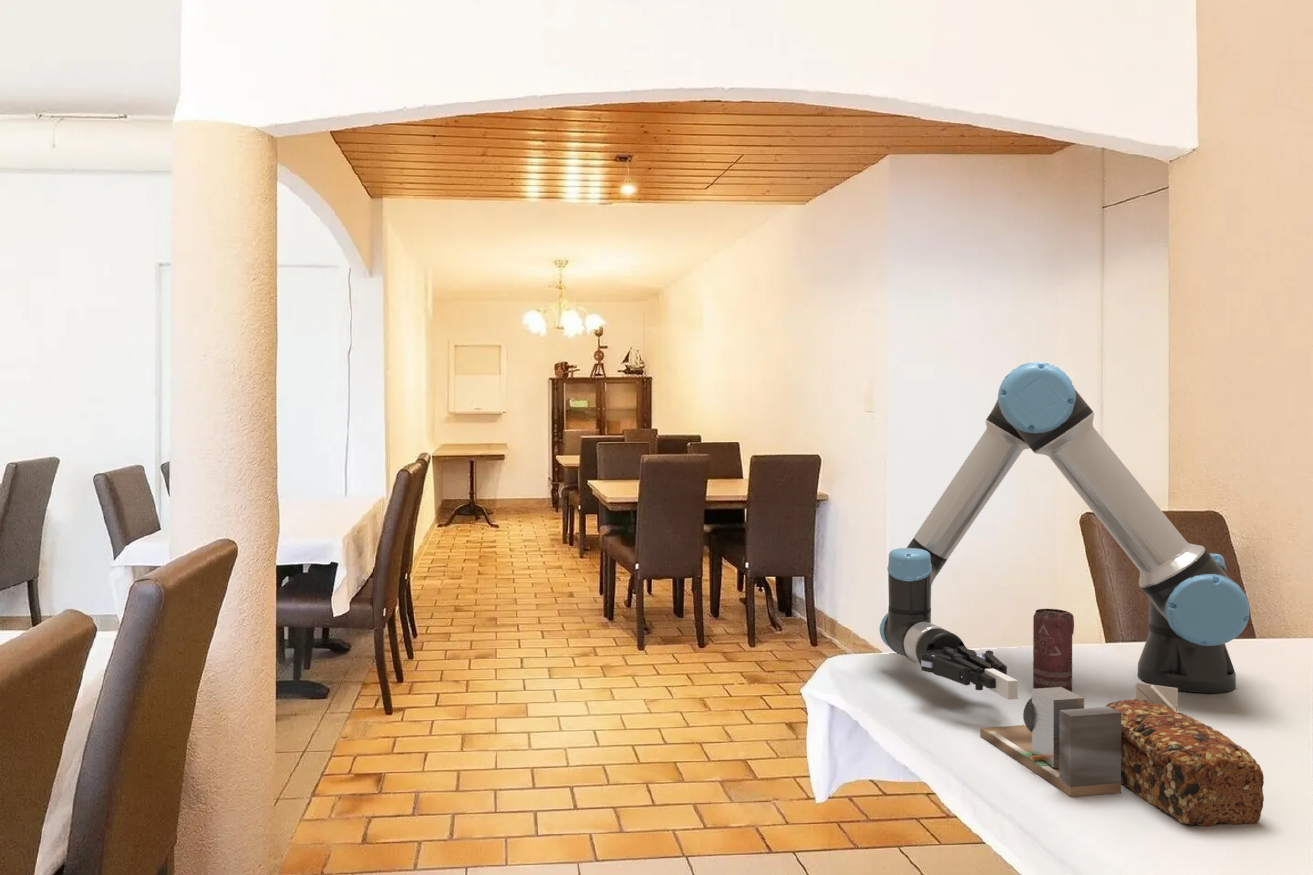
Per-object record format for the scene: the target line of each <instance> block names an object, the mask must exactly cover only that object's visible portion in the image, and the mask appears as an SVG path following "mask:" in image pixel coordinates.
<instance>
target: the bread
mask: <svg viewBox="0 0 1313 875" xmlns="http://www.w3.org/2000/svg"><path fill="white" fill-rule="evenodd" d="M1105 707H1111V708H1113V709H1115V710H1117V711H1119V712H1121V785H1124V786H1125V788H1128V789H1129V790H1131V792H1133V793H1134V794H1136V795H1137V796H1139V797H1141V798H1142V799H1143V800H1144V801H1146V802H1147V803H1149V804H1150V805H1151V806H1153V807H1155V808H1159V809H1160V810H1161V811H1162V810H1163V811H1164V812H1165V813H1166V814H1170V815H1171V816H1172V817H1174V818H1175V819H1176V820H1177V821H1178V822H1179V823H1180V824H1185V825H1190V826H1196V825H1198V826H1203V827H1212V826H1214V825H1216V824H1217V823H1220V824H1221V823H1226V824H1230V825H1241V824H1254V823H1256V824H1257V823H1258V822H1259V820H1260V818H1261V816H1262V811H1263V808H1264V800H1265V796H1264V790H1263V787H1264V782H1265V780H1264V779H1265V777H1264V773H1263V770H1262V768H1261V766H1260V764H1259V763H1258V762H1257V761H1256V759H1255V758H1253V756H1252V755H1251V753H1250V752H1249V751H1248V750H1247V749H1246V748H1243V747H1242V746H1241V745H1239V744H1236V743H1235V742H1234V741H1233V740H1232V739H1231V738H1229V736H1226V735H1225V734H1223V732H1221V731H1220V730H1217V729H1216V728H1213V727H1212V726H1210V725H1207V724H1204V723H1203V722H1201V721H1199V720H1196V719H1195V718H1193V717H1192V716H1188V715H1187V714H1186V713H1183V712H1180V711H1179V713H1177V712H1176V711H1173V710H1171V709H1169V708H1167V707H1166V706H1165V705H1163V704H1153V703H1150V702H1148V701H1147V700H1143V701H1139V700H1137V699H1136V698H1133V699H1126V700H1120V701H1119V700H1117V701H1114V702H1109V703H1107V704H1106V705H1105Z"/></svg>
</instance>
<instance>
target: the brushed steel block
mask: <svg viewBox="0 0 1313 875" xmlns="http://www.w3.org/2000/svg"><path fill="white" fill-rule="evenodd" d="M1083 708H1085V697H1082V696H1080V695H1079V694H1077V693H1075V692H1073V691H1072V692H1071V691H1068V690H1066V689H1064V688H1062V687H1054V688H1038V689H1034V688H1031V698H1029V699H1028V701H1027V702H1026V704H1025V705H1024V709H1023V715H1022V716H1023V717H1022V718H1023V722H1024V726H1026V727H1027V729H1028V730H1029V731H1030V732H1032V754H1033V756H1030V759H1032V760H1042V761H1044V762H1045V763H1047V764H1048V765H1050V766H1051V767H1053V768H1059V710H1069V709H1083Z"/></svg>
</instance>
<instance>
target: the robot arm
mask: <svg viewBox="0 0 1313 875" xmlns="http://www.w3.org/2000/svg"><path fill="white" fill-rule="evenodd" d="M1094 418H1095V412H1094V411H1093V409H1091V407H1090V406H1089V404H1088V403H1087V402H1086V401H1085V399H1084V398H1083V397H1082V396H1081V394H1080V393H1079V392H1078V391H1077V390H1076V389H1075V386H1074V385H1073V381H1072V380H1071V378H1070V377H1069V376H1068V375H1067V373H1066V372H1065V371H1063V370H1062V369H1061V368H1059V367H1057V366H1055V365H1054V364H1051V363H1047V362H1042V361H1035V362H1034V361H1033V362H1027V363H1024V364H1021V365H1019V366H1017V367H1016V368H1014V369H1012V370H1011V371H1010V372H1009V373H1008V374H1007V375H1006V376H1004V378H1003V380H1002V382H1001V383H1000V385H999V388H998V393H997V400H996V402H995V404H994V407H993V408H992V410H991V411H990V413H989V414H988V416H987V418H986V419H985V425H986V429H985V431H984V432H983V434H982V435H981V436H980V438H979V439H978V441H977V443H975V446H974V447H973V449H972V450H971V452H970V453H969V454H968V456H967V457H966V459H965V460H964V462H963V463H962V465H961V466H960V468H959V469H958V471H957V472H956V474H955V475H954V477H953V478H952V480H951V481H950V483H949V484H948V485H947V487H946V488H945V490H944V492H943V493H942V494H941V496H940V498H938V501H937V502H936V504H935V505H934V507H933V508H932V509H931V511H930V513H929V514H928V516H927V517H926V518H925V520H924V521H923V523H922V524H921V526H920V527H919V529H918V530H917V532H916V533H915V535H914V536H913V538H912V540H910V542H909V543H908V545H907V547H902V548H901V547H900V548H896V549H895V548H894V549H892V550H891V551H889V553H888V562H887V563H888V565H887V574H888V575H887V576H888V579H887V580H888V609H887V610H888V611H887V612H888V613H886V614H885V615H884V616H883V618H882V620H881V622H880V623H879V636H880V638H881V640H882V642H883V643H884V644H885V645H886V646H887V647H889V648H890V649H891V651H893V652H894V653H896V654H898V655H900V656H903V657H905V658H907V659H908V660H910V661H912V662H914V663H915V664H917V665H919V666H920V667H921V668H920V669H921V671H922V672H925V673H931V674H934V675H936V676H938V677H942V678H945V679H947V680H950V681H953V682H955V683H958V684H961V685H964V686H970V685H971V683H972V684H973V685H974V687H975V690H976V691H983V690H984V687H985V688H986V689H988V690H990V691H992V692H994V693H996V694H997V695H999V696H1001V697H1003V698H1005V699H1006V700H1017V699H1018V698H1019V697H1018V696H1019V694H1018V692H1019V691H1018V686H1019V685H1018V680H1017V679H1015V678H1014V677H1011V676H1010V675H1008V666H1007V665H1006V664H1004V663H1003V662H1002V661H1001V660H1000V659H999V658H998V657H996V656H995V655H994V651H993V650H986V651H984V652H982V653H981V654H977V651H975V650H973V649H968V647H966V645H965V643H964V641H963V640H962V639H961V638H960V637H959V636H958V635H957V634H955V633H952V632H951V631H949V630H946V629H945V628H943V627H942V626H938V625H937V624H934V623H932V585H933V583H934V581H935V579H936V577H937V576H938V574H939V573H940V572H941V570H942V569H943V567H944V566H945V564H946V563H947V561H948V559H949V558H950V557H951V556H952V554H953V552H954V551H955V550H956V548H957V546H958V545H959V544H960V543H961V541H962V539H964V536H965V535H966V533H967V532H968V531H969V529H970V528H971V526H972V525H973V523H974V521H976V519H977V518H978V517H979V515H980V513H982V512H981V511H982V510H984V508H985V506H986V505H987V503H988V502H989V500H990V498H991V497H992V496H993V494H994V493H995V492H996V490H997V488H999V486H1000V484H1001V483H1002V481H1003V480H1004V478H1005V477H1006V475H1007V474H1008V473H1009V472H1010V469H1011V468H1012V467H1013V466H1014V465H1015V463H1016V461H1017V460H1018V458H1019V457H1020V455H1021V454H1022V453H1023V451H1025V450H1029V449H1030V450H1031V451H1032V452H1033V453H1034V454H1037V455H1043V456H1047V457H1048V458H1049V459H1050V460H1051V461H1052V462H1053V464H1054V465H1055V467H1056V468H1057V469H1058V470H1059V471H1060V472H1061V474H1062V475H1063V477H1064V478H1065V479H1066V480H1067V481H1068V483H1069V484H1070V485H1071V487H1072V488H1073V489H1074V490H1075V492H1077V494H1078V495H1079V496H1080V498H1081V499H1082V501H1084V503H1085V504H1086V505H1087V506H1088V508H1089V509H1090V510H1091V512H1092V513H1093V514H1094V515H1095V517H1096V518H1097V520H1099V521H1100V523H1101V524H1102V525H1103V527H1104V528H1105V529H1106V531H1107V532H1108V533H1109V534H1110V536H1112V537H1113V539H1114V541H1116V543H1117V544H1118V545H1119V547H1120V548H1121V549H1122V550H1123V551H1124V553H1125V554H1126V556H1127V557H1128V558H1129V559H1130V560H1131V562H1132V563H1133V564H1134V565H1135V567H1136V569H1138V571H1139V579H1138V586H1139V587H1140V588H1141V590H1142V591H1143V592H1144V593H1145V595H1146V596H1147V598H1148V636H1147V637H1146V640H1145V644H1144V647H1143V649H1142V652H1141V654H1140V656H1139V660H1138V662H1137V676H1138V678H1139V679H1141V680H1142V681H1144V682H1146V683H1147V684H1151V685H1158V686H1165V687H1172V688H1178V691H1181V692H1190V693H1200V694H1203V693H1204V694H1207V693H1208V694H1212V693H1213V694H1215V693H1216V694H1218V693H1225V692H1230V691H1233V690H1234V689H1236V686H1237V684H1236V683H1237V682H1236V681H1237V675H1236V671H1235V668H1234V665H1233V663H1232V659H1231V656H1230V653H1229V650H1228V649H1227V645H1226V644H1227V643H1229V642H1232V641H1233V640H1234V639H1236V638H1238V636H1239V635H1241V633H1242V632H1243V631H1244V630H1245V628H1246V627H1247V625H1248V622H1249V620H1250V611H1251V610H1250V604H1249V601H1248V597H1247V594H1246V592H1245V591H1244V590H1243V589H1242V587H1241V586H1240V585H1239V584H1238V583H1237V582H1235V581H1233V580H1232V579H1231V578H1230V577H1229V576H1228V575H1227V574H1226V571H1227V567H1226V562H1225V558H1224V557H1223V555H1222V554H1219V553H1209V552H1208V550H1207V549H1206V548H1205V547H1204V546H1203V545H1199V544H1195V543H1190V542H1188V541H1187V540H1186V539H1185V538H1184V537H1183V535H1182V534H1181V533H1180V531H1178V529H1177V527H1176V526H1174V524H1173V523H1172V522H1171V520H1170V519H1169V518H1168V517H1167V515H1166V514H1165V513H1164V512H1163V511H1162V510H1161V508H1160V507H1159V506H1158V505H1157V504H1156V502H1155V501H1154V499H1152V497H1151V495H1149V494H1148V492H1147V491H1146V490H1145V488H1144V487H1143V486H1142V485H1141V483H1140V482H1139V481H1138V480H1137V479H1136V478H1135V476H1134V475H1133V474H1132V473H1131V471H1130V470H1129V469H1128V467H1126V465H1125V464H1124V463H1123V462H1122V460H1121V459H1120V457H1119V456H1118V455H1117V454H1116V453H1115V451H1114V450H1113V449H1112V448H1111V447H1110V445H1109V444H1108V443H1107V442H1106V441H1105V439H1104V438H1103V437H1102V436H1101V434H1100V433H1099V431H1097V429H1096V428H1095V427H1094V424H1093V423H1094Z"/></svg>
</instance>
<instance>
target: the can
mask: <svg viewBox="0 0 1313 875" xmlns="http://www.w3.org/2000/svg"><path fill="white" fill-rule="evenodd" d="M1032 621H1033V623H1032V625H1033V626H1032V627H1033V629H1032V630H1033V632H1032V634H1033V638H1032V641H1033V642H1032V646H1033V647H1032V648H1033V651H1032V654H1033V655H1032V656H1033V663H1032V665H1033V669H1032V673H1033V674H1032V675H1033V676H1032V677H1033V678H1032V679H1033V683H1032V684H1033V685H1032V687H1033V688H1032V689H1038V688H1054V687H1062V688H1064V689H1066V690H1068V691H1071V692H1073V635H1074V633H1075V632H1074V631H1075V617H1074V615H1073V613H1071V612H1070V611H1067V610H1063V609H1057V608H1040V609H1039V608H1038V609H1036V610H1035V613H1034V614H1033V620H1032Z"/></svg>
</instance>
